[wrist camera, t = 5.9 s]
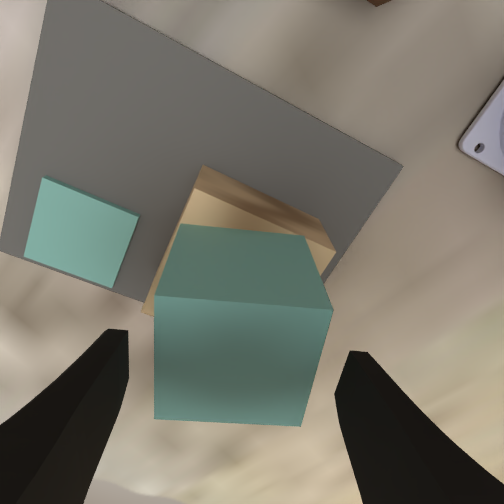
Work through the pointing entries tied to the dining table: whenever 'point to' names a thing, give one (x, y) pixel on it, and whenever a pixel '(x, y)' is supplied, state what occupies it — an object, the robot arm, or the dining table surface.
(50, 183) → the swatch
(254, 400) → the teal block
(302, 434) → the dining table surface
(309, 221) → the oak block
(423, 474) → the robot arm
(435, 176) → the dining table surface
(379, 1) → the walnut block
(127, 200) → the placemat
